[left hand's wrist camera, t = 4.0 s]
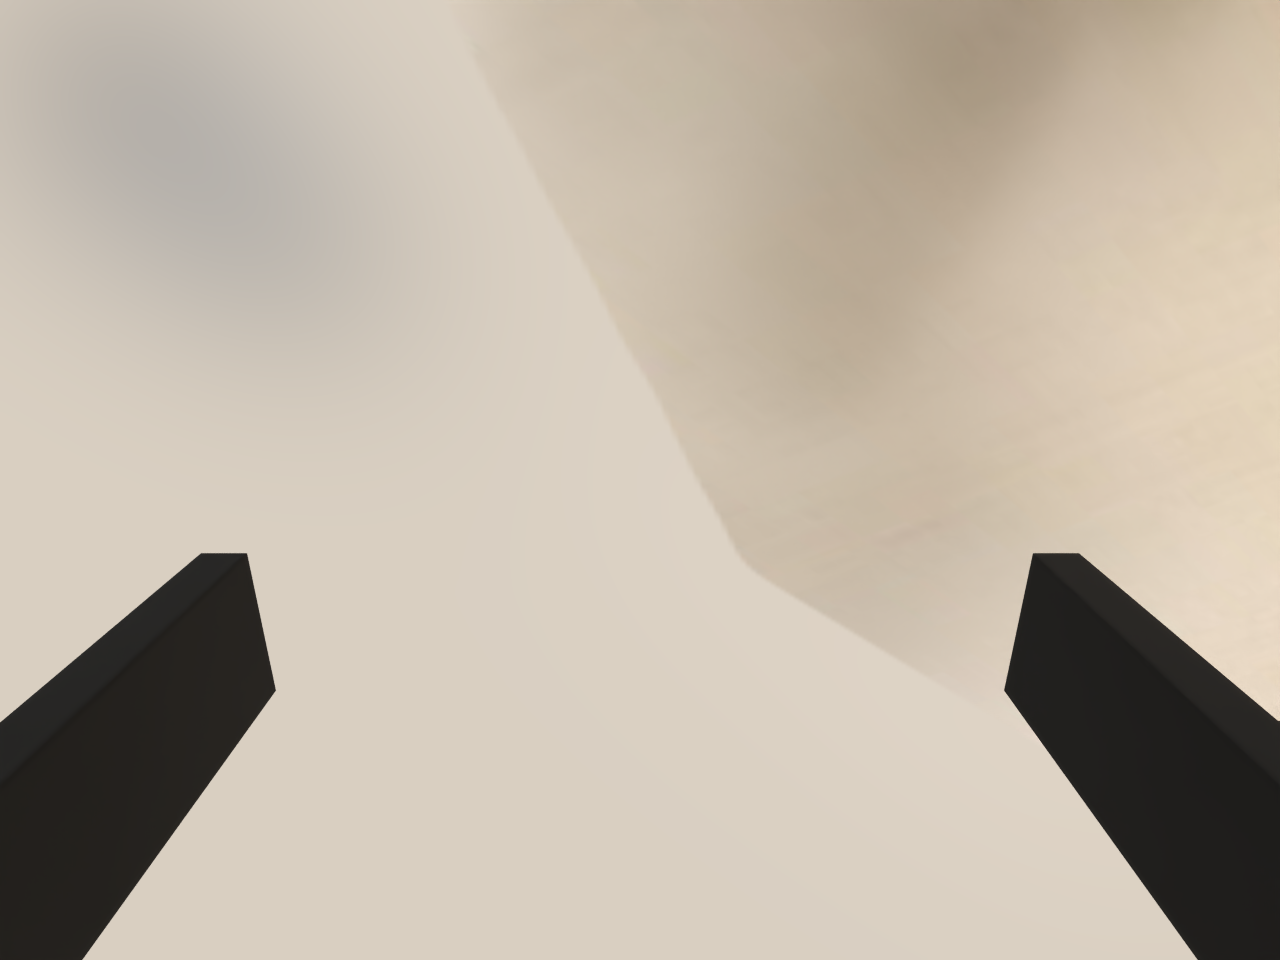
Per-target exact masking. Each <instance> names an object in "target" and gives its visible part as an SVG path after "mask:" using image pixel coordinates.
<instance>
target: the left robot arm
mask: <svg viewBox="0 0 1280 960" xmlns="http://www.w3.org/2000/svg"><path fill="white" fill-rule="evenodd" d="M275 691H276V689H275V684H274V680H273V675H272V670H271V665H270V661H269V656H268V651H267V647H266V642H265V637H264V632H263V627H262V623H261V618H260V613H259V608H258V604H257V599H256V594H255V589H254V585H253V580H252V575H251V570H250V566H249V561H248V556H247V553H201V554H200V555H199V556H197V557H196V558H195V559H194V560H193V561H191V562H190V563H189V564H188V565H187V566H186V567H184V568H183V569H182V570H181V571H180V572H178V573H177V574H176V575H175V576H174V577H173V578H171V579H170V580H169V581H168V582H166V583H165V584H164V585H163V586H162V587H161V588H159V589H158V590H157V591H156V592H155V593H153V594H152V595H151V596H150V597H149V598H148V599H146V600H145V601H144V602H143V603H142V604H140V605H139V606H138V607H137V608H136V609H134V610H133V611H132V612H131V613H130V614H129V615H127V616H126V617H125V618H124V619H123V620H121V621H120V622H119V623H118V624H117V625H115V626H114V627H113V628H112V629H111V630H109V631H108V632H107V633H106V634H105V635H104V636H102V637H101V638H100V639H99V640H98V641H96V642H95V643H94V644H93V645H92V646H91V647H89V648H88V649H87V650H86V651H85V652H83V653H82V654H81V655H80V656H79V657H77V658H76V659H75V660H74V661H73V662H72V663H70V664H69V665H68V666H67V667H66V668H64V669H63V670H62V671H61V672H60V673H58V674H57V675H56V676H55V677H54V678H53V679H51V680H50V681H49V682H48V683H47V684H45V685H44V686H43V687H42V688H41V689H39V690H38V691H37V692H36V693H35V694H34V695H32V696H31V697H30V698H29V699H28V700H26V701H25V702H24V703H23V704H22V705H20V706H19V707H18V708H17V709H16V710H15V711H13V712H12V713H11V714H10V715H9V716H7V717H6V718H5V719H4V720H3V721H1V722H0V960H82V959H83V958H84V957H85V955H86V954H87V952H88V951H89V950H90V948H91V947H92V946H93V944H94V943H95V941H96V940H97V939H98V937H99V936H100V934H101V933H102V932H103V930H104V929H105V927H106V926H107V925H108V923H109V922H110V920H111V919H112V918H113V916H114V915H115V914H116V912H117V911H118V909H119V908H120V907H121V905H122V904H123V902H124V901H125V900H126V898H127V897H128V895H129V894H130V893H131V891H132V890H133V889H134V887H135V886H136V884H137V883H138V882H139V880H140V879H141V877H142V876H143V875H144V873H145V872H146V870H147V869H148V868H149V866H150V865H151V863H152V862H153V861H154V859H155V858H156V856H157V855H158V854H159V852H160V851H161V849H162V848H163V847H164V845H165V844H166V843H167V841H168V840H169V838H170V837H171V836H172V834H173V833H174V831H175V830H176V829H177V827H178V826H179V825H180V823H181V822H182V820H183V819H184V817H185V816H186V815H187V813H188V812H189V811H190V809H191V808H192V806H193V805H194V804H195V802H196V801H197V799H198V798H199V797H200V795H201V794H202V792H203V791H204V790H205V788H206V787H207V786H208V784H209V783H210V781H211V780H212V779H213V777H214V776H215V774H216V773H217V772H218V770H219V769H220V767H221V766H222V765H223V763H224V762H225V760H226V759H227V758H228V756H229V755H230V754H231V752H232V751H233V749H234V748H235V747H236V745H237V744H238V742H239V741H240V740H241V738H242V737H243V735H244V734H245V733H246V731H247V730H248V728H249V727H250V726H251V724H252V723H253V721H254V720H255V719H256V717H257V716H258V715H259V713H260V712H261V710H262V709H263V708H264V706H265V705H266V703H267V702H268V701H269V699H270V698H271V696H272V695H273V694H274V692H275ZM1004 691H1005V692H1006V694H1007V695H1008V696H1009V698H1010V699H1011V701H1012V702H1013V703H1014V705H1015V706H1016V708H1017V709H1018V710H1019V712H1020V713H1021V715H1022V716H1023V717H1024V719H1025V720H1026V722H1027V723H1028V724H1029V726H1030V727H1031V728H1032V730H1033V731H1034V733H1035V734H1036V735H1037V737H1038V738H1039V740H1040V741H1041V742H1042V744H1043V745H1044V747H1045V748H1046V749H1047V751H1048V752H1049V754H1050V755H1051V756H1052V758H1053V759H1054V760H1055V762H1056V763H1057V765H1058V766H1059V767H1060V769H1061V770H1062V772H1063V773H1064V774H1065V776H1066V777H1067V779H1068V780H1069V781H1070V783H1071V784H1072V786H1073V787H1074V788H1075V790H1076V791H1077V792H1078V794H1079V795H1080V797H1081V798H1082V799H1083V801H1084V802H1085V803H1086V805H1087V806H1088V808H1089V809H1090V811H1091V812H1092V813H1093V815H1094V816H1095V818H1096V819H1097V820H1098V822H1099V823H1100V825H1101V826H1102V827H1103V829H1104V830H1105V831H1106V833H1107V834H1108V836H1109V837H1110V838H1111V840H1112V841H1113V843H1114V844H1115V845H1116V847H1117V848H1118V849H1119V851H1120V852H1121V854H1122V855H1123V856H1124V858H1125V859H1126V861H1127V862H1128V863H1129V865H1130V866H1131V868H1132V869H1133V870H1134V872H1135V873H1136V875H1137V876H1138V877H1139V879H1140V880H1141V882H1142V883H1143V884H1144V886H1145V887H1146V889H1147V890H1148V891H1149V893H1150V894H1151V895H1152V897H1153V898H1154V900H1155V901H1156V902H1157V904H1158V905H1159V907H1160V908H1161V909H1162V911H1163V912H1164V914H1165V915H1166V916H1167V918H1168V919H1169V920H1170V922H1171V923H1172V925H1173V926H1174V927H1175V929H1176V930H1177V932H1178V933H1179V934H1180V936H1181V937H1182V939H1183V940H1184V941H1185V943H1186V944H1187V946H1188V947H1189V948H1190V950H1191V951H1192V953H1193V954H1194V955H1195V957H1196V958H1197V959H1198V960H1280V721H1277V720H1276V719H1275V718H1274V717H1273V716H1271V715H1270V714H1269V713H1268V712H1267V711H1265V710H1264V709H1263V708H1262V707H1261V706H1260V705H1258V704H1257V703H1256V702H1255V701H1254V700H1252V699H1251V698H1250V697H1249V696H1248V695H1246V694H1245V693H1244V692H1243V691H1242V690H1241V689H1239V688H1238V687H1237V686H1236V685H1235V684H1233V683H1232V682H1231V681H1230V680H1229V679H1227V678H1226V677H1225V676H1224V675H1223V674H1222V673H1220V672H1219V671H1218V670H1217V669H1216V668H1214V667H1213V666H1212V665H1211V664H1210V663H1208V662H1207V661H1206V660H1205V659H1204V658H1203V657H1201V656H1200V655H1199V654H1198V653H1197V652H1195V651H1194V650H1193V649H1192V648H1191V647H1189V646H1188V645H1187V644H1186V643H1185V642H1184V641H1182V640H1181V639H1180V638H1179V637H1178V636H1176V635H1175V634H1174V633H1173V632H1172V631H1170V630H1169V629H1168V628H1167V627H1166V626H1165V625H1163V624H1162V623H1161V622H1160V621H1159V620H1157V619H1156V618H1155V617H1154V616H1153V615H1152V614H1150V613H1149V612H1148V611H1147V610H1146V609H1144V608H1143V607H1142V606H1141V605H1140V604H1138V603H1137V602H1136V601H1135V600H1134V599H1133V598H1131V597H1130V596H1129V595H1128V594H1127V593H1125V592H1124V591H1123V590H1122V589H1121V588H1119V587H1118V586H1117V585H1116V584H1115V583H1114V582H1112V581H1111V580H1110V579H1109V578H1108V577H1106V576H1105V575H1104V574H1103V573H1102V572H1100V571H1099V570H1098V569H1097V568H1096V567H1095V566H1093V565H1092V564H1091V563H1090V562H1089V561H1087V560H1086V559H1085V558H1084V557H1083V556H1081V555H1080V554H1079V553H1033V556H1032V561H1031V566H1030V570H1029V575H1028V580H1027V585H1026V589H1025V594H1024V599H1023V604H1022V608H1021V613H1020V618H1019V623H1018V627H1017V632H1016V637H1015V642H1014V646H1013V651H1012V656H1011V661H1010V665H1009V670H1008V675H1007V680H1006V684H1005V689H1004Z"/></svg>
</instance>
